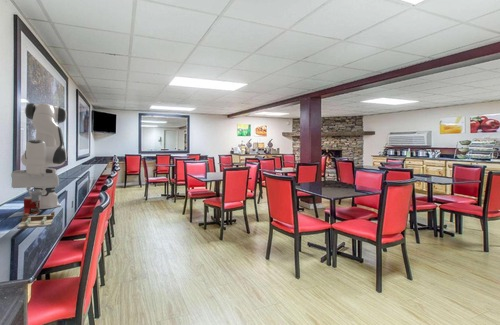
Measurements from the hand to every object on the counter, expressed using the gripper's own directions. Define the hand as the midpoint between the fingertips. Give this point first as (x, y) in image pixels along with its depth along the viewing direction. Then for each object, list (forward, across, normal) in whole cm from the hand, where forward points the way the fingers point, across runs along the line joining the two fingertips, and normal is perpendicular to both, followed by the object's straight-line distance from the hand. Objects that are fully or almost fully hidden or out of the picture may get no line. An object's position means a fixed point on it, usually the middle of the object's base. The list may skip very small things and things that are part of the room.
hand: (36, 195), depth 149 cm
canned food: (+16, -6, +28) cm, 32 cm away
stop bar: (+2, 0, +1) cm, 2 cm away
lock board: (+16, 0, +6) cm, 17 cm away
